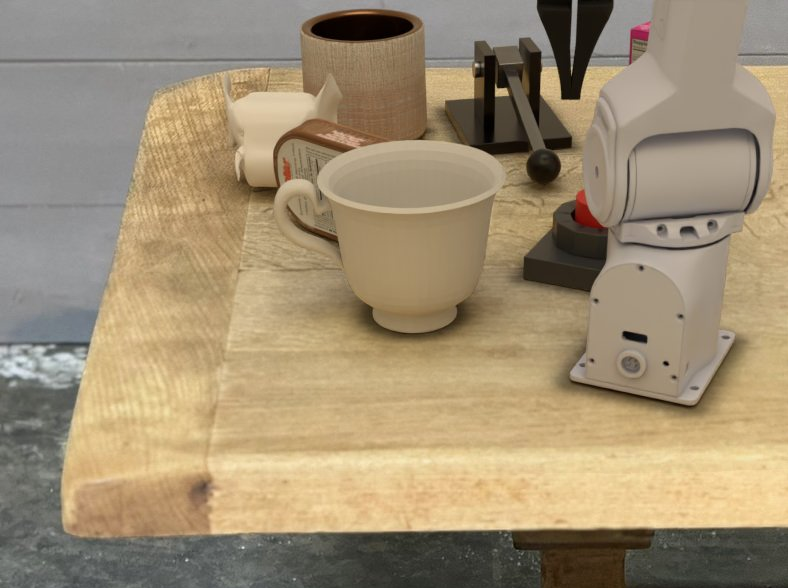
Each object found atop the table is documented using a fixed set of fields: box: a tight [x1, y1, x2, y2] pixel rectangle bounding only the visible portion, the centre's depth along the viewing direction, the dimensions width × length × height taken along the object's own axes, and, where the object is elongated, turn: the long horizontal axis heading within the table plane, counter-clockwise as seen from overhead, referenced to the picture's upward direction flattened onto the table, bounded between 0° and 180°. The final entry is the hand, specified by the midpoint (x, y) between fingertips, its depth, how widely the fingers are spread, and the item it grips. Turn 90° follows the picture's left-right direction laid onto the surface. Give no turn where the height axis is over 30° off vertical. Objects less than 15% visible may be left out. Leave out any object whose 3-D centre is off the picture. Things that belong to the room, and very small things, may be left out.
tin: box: [273, 118, 393, 242], centre depth 97 cm, size 15×3×8 cm, turn 48°
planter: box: [299, 8, 428, 141], centre depth 116 cm, size 11×11×10 cm
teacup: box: [273, 139, 507, 334], centre depth 87 cm, size 12×15×10 cm
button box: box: [522, 199, 609, 292], centre depth 95 cm, size 10×8×4 cm
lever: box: [492, 45, 562, 185], centre depth 111 cm, size 17×3×3 cm, turn 8°
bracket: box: [444, 36, 573, 155], centre depth 117 cm, size 12×9×7 cm
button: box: [575, 188, 609, 229], centre depth 93 cm, size 4×4×2 cm
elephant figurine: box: [222, 71, 343, 188], centre depth 107 cm, size 10×12×9 cm
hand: (570, 95), depth 97 cm, fingers closed
